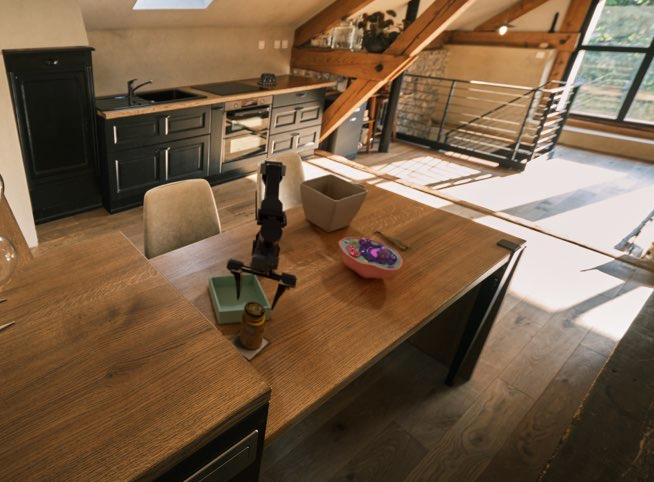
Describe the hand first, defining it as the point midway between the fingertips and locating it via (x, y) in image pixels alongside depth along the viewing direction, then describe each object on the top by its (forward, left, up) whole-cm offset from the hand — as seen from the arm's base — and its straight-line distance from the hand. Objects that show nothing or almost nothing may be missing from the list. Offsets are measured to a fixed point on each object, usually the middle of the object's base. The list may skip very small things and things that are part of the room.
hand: (254, 305), depth 103 cm
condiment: (+2, +3, -10) cm, 11 cm away
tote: (+1, -12, -10) cm, 16 cm away
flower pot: (-49, -54, -10) cm, 74 cm away
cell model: (-47, -22, -10) cm, 53 cm away
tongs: (-67, -38, -10) cm, 78 cm away
